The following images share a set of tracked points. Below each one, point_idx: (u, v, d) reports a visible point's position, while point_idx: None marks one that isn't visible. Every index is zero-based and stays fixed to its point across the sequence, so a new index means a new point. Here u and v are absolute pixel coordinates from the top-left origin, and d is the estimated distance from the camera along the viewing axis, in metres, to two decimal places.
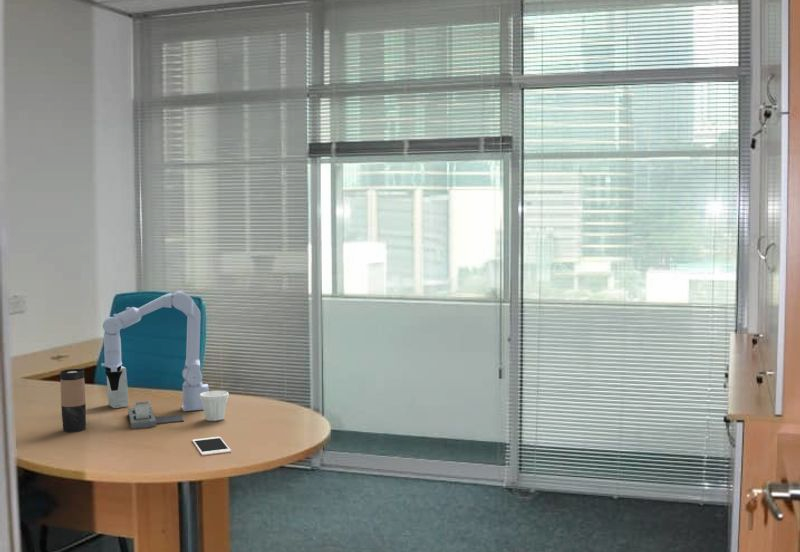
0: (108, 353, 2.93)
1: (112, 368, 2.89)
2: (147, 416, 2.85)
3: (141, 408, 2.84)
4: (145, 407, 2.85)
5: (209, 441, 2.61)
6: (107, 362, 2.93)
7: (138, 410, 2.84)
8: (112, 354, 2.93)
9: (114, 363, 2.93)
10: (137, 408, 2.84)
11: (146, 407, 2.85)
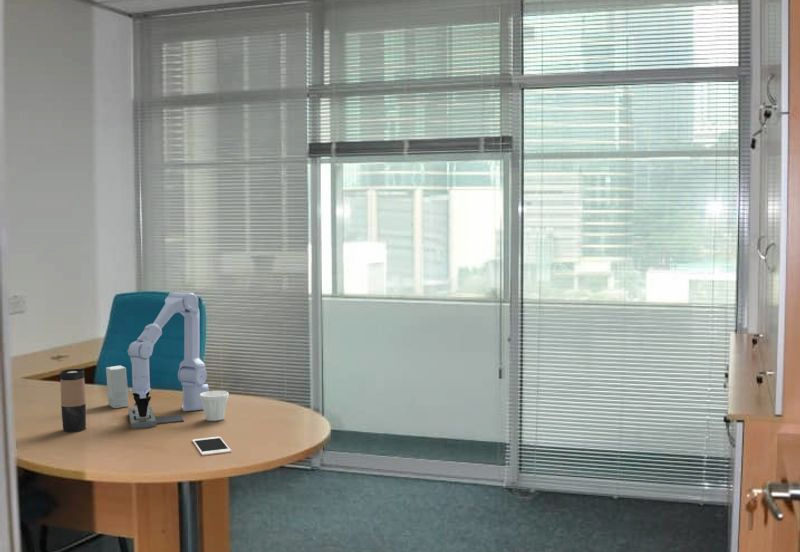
0: (136, 378, 2.83)
1: (141, 394, 2.79)
2: (147, 416, 2.85)
3: None
4: None
5: (209, 441, 2.61)
6: (135, 388, 2.83)
7: None
8: (141, 379, 2.83)
9: (143, 389, 2.83)
10: (137, 408, 2.84)
11: None
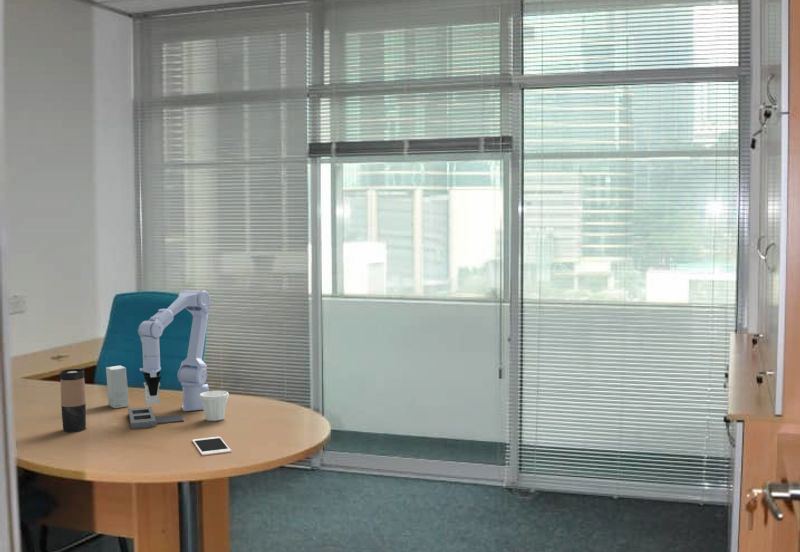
0: (147, 358, 2.84)
1: (151, 373, 2.80)
2: (157, 396, 2.86)
3: None
4: None
5: (209, 441, 2.61)
6: (145, 367, 2.85)
7: (148, 389, 2.85)
8: (151, 359, 2.84)
9: (153, 368, 2.84)
10: (147, 387, 2.85)
11: None
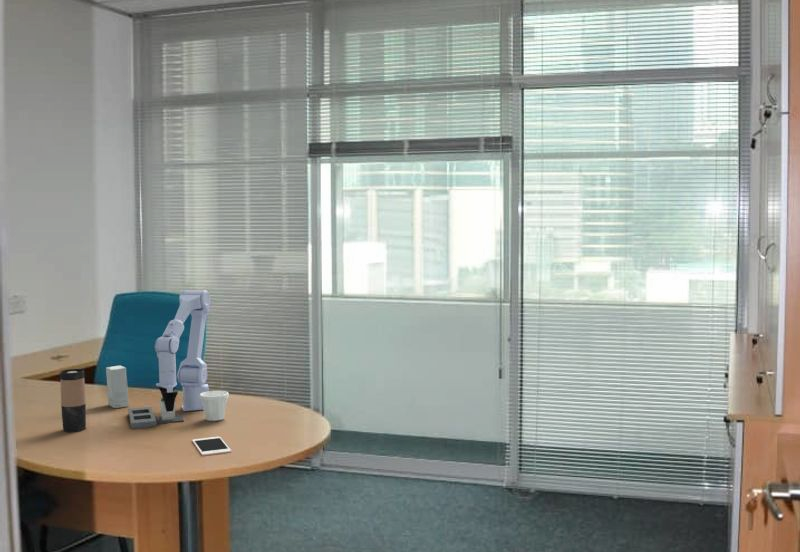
0: (163, 373, 2.87)
1: (168, 389, 2.83)
2: (173, 412, 2.89)
3: None
4: None
5: (209, 441, 2.61)
6: (162, 383, 2.87)
7: (164, 406, 2.88)
8: (167, 374, 2.87)
9: (169, 383, 2.87)
10: (163, 404, 2.87)
11: None
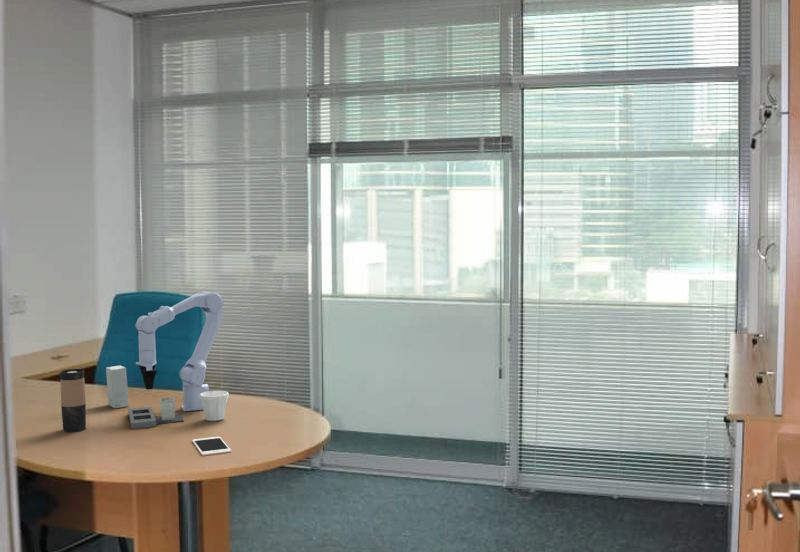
0: (143, 352, 2.93)
1: (147, 367, 2.89)
2: (173, 412, 2.89)
3: (167, 404, 2.88)
4: (171, 403, 2.88)
5: (209, 441, 2.61)
6: (141, 361, 2.93)
7: (164, 406, 2.88)
8: (147, 353, 2.93)
9: (149, 362, 2.93)
10: (163, 404, 2.87)
11: (172, 403, 2.88)
